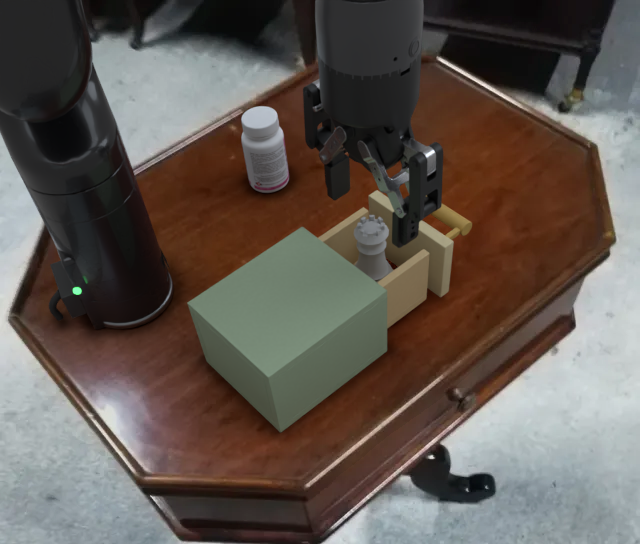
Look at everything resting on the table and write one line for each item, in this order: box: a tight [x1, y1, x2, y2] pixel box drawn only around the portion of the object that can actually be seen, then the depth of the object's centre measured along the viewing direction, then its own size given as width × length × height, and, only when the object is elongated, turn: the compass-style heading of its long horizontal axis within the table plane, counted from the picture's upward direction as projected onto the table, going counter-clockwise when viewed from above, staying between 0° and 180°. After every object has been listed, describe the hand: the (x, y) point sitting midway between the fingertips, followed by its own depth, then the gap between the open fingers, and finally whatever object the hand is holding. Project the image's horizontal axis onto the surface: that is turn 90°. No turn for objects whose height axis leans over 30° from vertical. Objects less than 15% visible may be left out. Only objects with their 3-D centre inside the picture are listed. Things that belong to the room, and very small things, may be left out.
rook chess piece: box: [354, 215, 394, 282], centre depth 71 cm, size 4×4×8 cm
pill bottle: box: [240, 105, 290, 194], centre depth 84 cm, size 5×5×8 cm
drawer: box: [317, 189, 473, 329], centre depth 73 cm, size 17×10×7 cm, turn 131°
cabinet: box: [186, 226, 388, 433], centre depth 70 cm, size 14×12×9 cm
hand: (370, 217), depth 67 cm, fingers open, 8 cm apart
